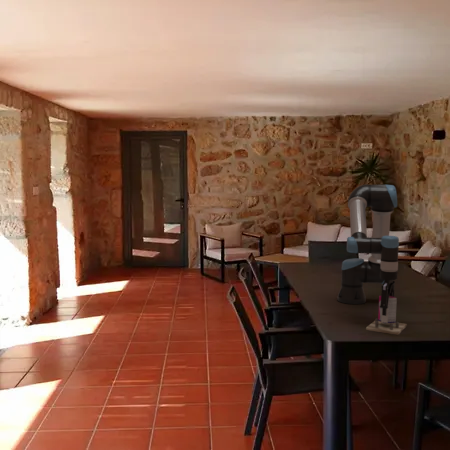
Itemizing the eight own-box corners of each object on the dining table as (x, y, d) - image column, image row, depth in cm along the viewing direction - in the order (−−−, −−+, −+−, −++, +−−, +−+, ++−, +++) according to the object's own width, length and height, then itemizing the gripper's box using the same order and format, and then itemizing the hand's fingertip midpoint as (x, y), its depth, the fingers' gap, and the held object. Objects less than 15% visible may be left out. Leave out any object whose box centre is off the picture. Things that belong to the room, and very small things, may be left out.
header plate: (376, 321, 254) (376, 314, 254) (406, 326, 247) (406, 318, 246) (366, 329, 240) (366, 322, 240) (398, 334, 233) (398, 326, 233)
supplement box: (396, 322, 241) (397, 297, 240) (384, 323, 240) (385, 298, 238) (388, 319, 247) (389, 294, 246) (377, 320, 245) (378, 295, 244)
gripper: (386, 266, 252) (384, 314, 254) (374, 272, 234) (372, 324, 236) (402, 267, 248) (400, 316, 250) (391, 274, 230) (389, 326, 232)
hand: (386, 320), depth 243 cm, fingers closed on supplement box, 8 cm apart
